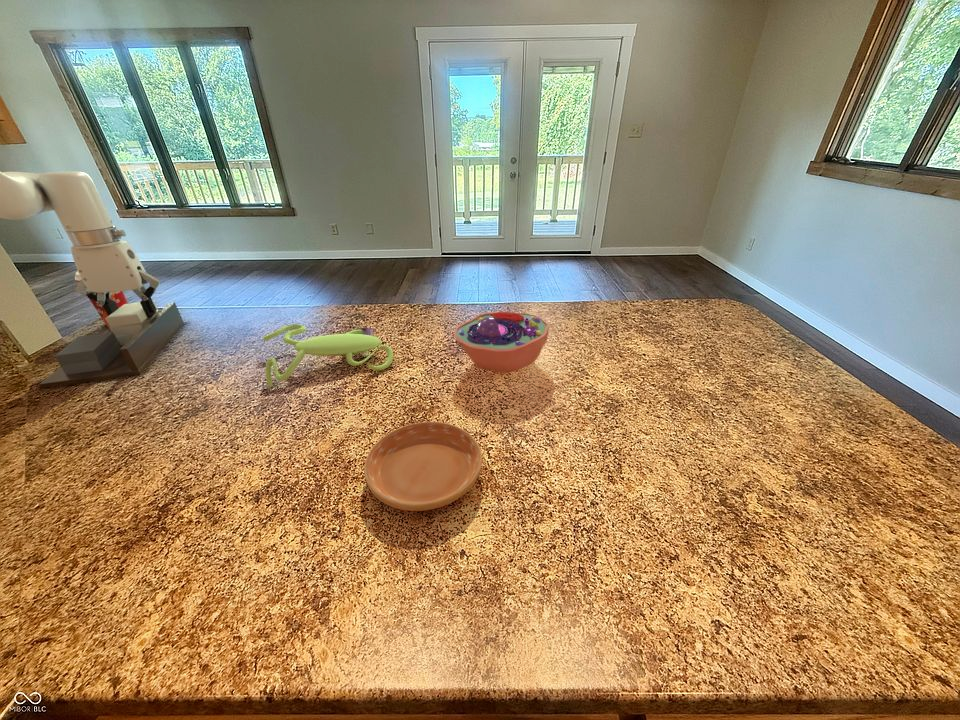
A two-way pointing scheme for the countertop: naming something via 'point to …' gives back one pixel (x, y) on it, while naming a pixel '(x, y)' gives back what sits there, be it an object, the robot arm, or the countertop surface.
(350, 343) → the figurine
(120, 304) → the paper cup
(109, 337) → the grey stack
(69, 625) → the countertop surface
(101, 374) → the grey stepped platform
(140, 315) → the cream flat block
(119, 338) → the white stack
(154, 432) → the countertop surface
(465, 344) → the cell model
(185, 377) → the countertop surface
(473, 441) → the saucer
